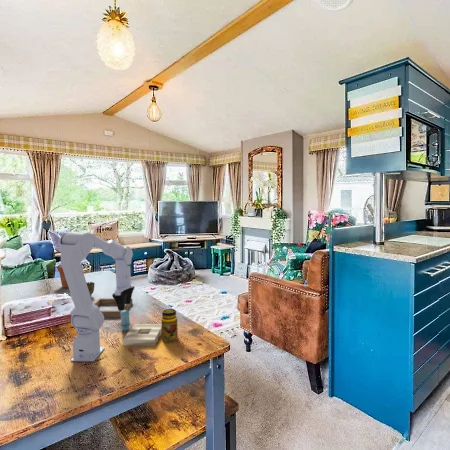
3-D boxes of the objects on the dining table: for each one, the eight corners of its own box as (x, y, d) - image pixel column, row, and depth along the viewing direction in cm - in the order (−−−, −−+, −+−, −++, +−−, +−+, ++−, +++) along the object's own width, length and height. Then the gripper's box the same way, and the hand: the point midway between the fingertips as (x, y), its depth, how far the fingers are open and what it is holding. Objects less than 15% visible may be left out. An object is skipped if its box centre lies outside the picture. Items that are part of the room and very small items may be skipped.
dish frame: (119, 317, 143) (119, 311, 143) (82, 317, 143) (82, 311, 143) (132, 304, 161) (132, 298, 161) (99, 304, 162) (99, 298, 161)
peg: (128, 331, 128) (127, 312, 127) (119, 331, 128) (119, 312, 127) (131, 327, 132) (130, 309, 131) (122, 327, 132) (122, 309, 131)
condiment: (170, 346, 116) (170, 315, 115) (153, 341, 120) (153, 311, 119) (182, 338, 122) (182, 309, 121) (166, 334, 127) (165, 305, 125)
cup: (89, 299, 168) (89, 285, 168) (77, 299, 170) (77, 284, 169) (97, 295, 176) (97, 281, 175) (86, 294, 177) (85, 281, 176)
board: (154, 345, 116) (154, 339, 115) (123, 345, 116) (122, 339, 116) (163, 329, 129) (163, 324, 129) (135, 329, 130) (134, 324, 130)
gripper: (127, 279, 121) (128, 313, 122) (138, 270, 135) (139, 301, 136) (109, 279, 121) (110, 313, 122) (122, 270, 135) (123, 301, 136)
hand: (124, 306), depth 129 cm, fingers open, 7 cm apart
